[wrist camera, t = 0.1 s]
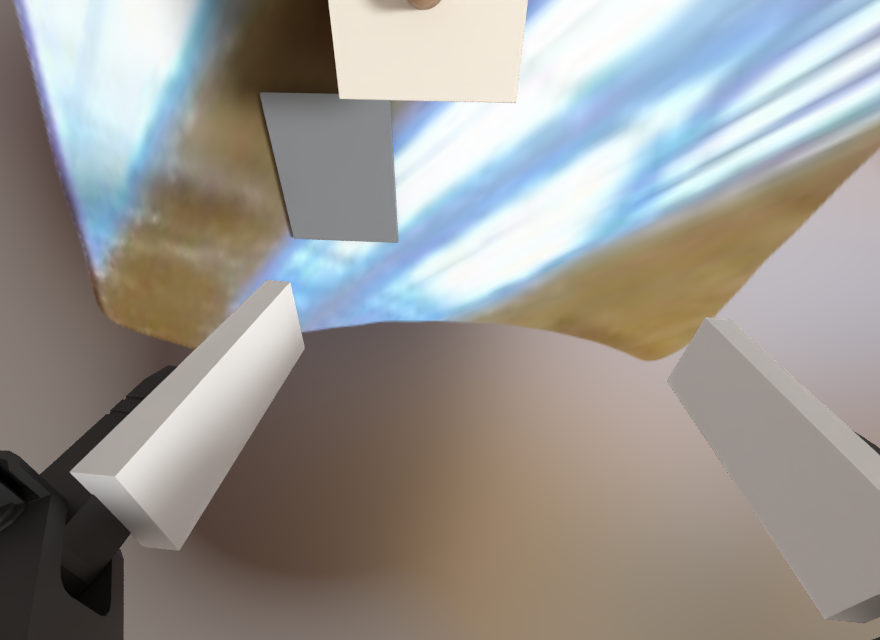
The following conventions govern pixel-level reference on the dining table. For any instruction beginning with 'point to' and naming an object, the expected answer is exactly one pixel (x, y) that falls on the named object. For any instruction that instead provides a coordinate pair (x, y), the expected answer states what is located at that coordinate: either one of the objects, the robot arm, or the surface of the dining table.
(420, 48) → the lid
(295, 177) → the mat
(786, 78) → the dining table surface
